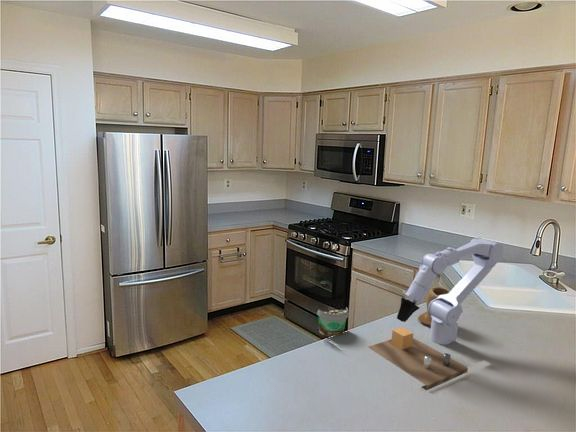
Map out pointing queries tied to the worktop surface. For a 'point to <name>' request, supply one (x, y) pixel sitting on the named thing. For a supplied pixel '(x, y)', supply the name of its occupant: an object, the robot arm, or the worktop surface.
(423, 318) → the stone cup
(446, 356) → the dark post
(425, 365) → the steel post
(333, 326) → the food container
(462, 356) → the worktop surface
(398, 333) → the peach wooden cube
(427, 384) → the walnut board
